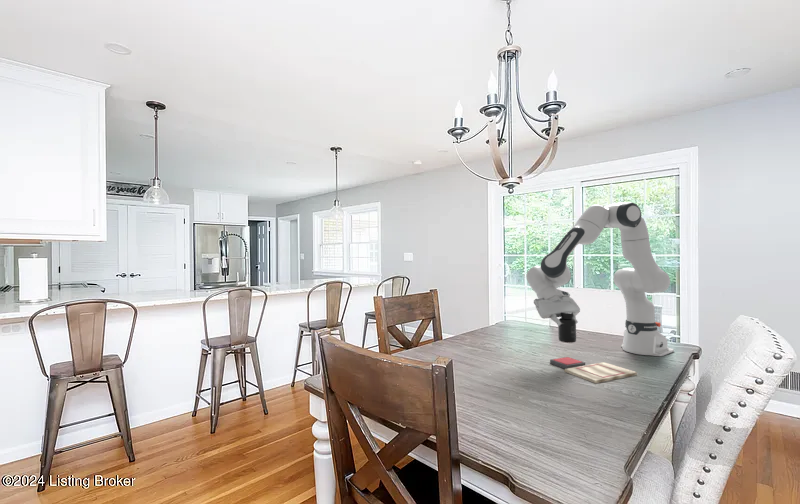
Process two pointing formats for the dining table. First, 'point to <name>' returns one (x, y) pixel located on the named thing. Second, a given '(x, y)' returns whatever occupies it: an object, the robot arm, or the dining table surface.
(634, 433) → the dining table surface
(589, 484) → the dining table surface
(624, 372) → the marked board
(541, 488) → the dining table surface
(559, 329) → the supplement bottle
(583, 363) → the ink pad
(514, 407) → the dining table surface
